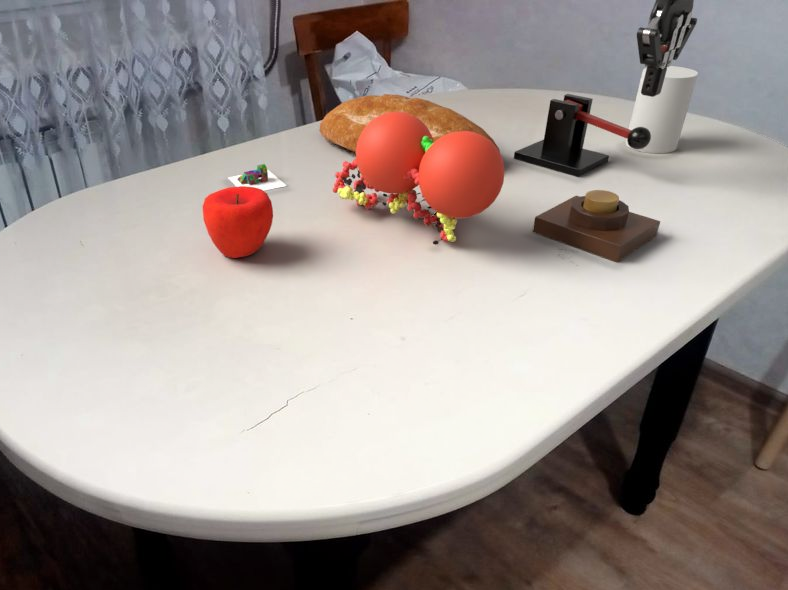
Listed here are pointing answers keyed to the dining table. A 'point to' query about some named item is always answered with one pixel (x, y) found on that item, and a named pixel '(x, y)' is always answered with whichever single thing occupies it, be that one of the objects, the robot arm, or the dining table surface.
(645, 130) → the red lever
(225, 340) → the dining table surface
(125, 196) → the dining table surface
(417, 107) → the bread
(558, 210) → the push button box
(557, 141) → the lever base
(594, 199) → the bell button
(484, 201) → the molecule
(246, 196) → the apple
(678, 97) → the cup
